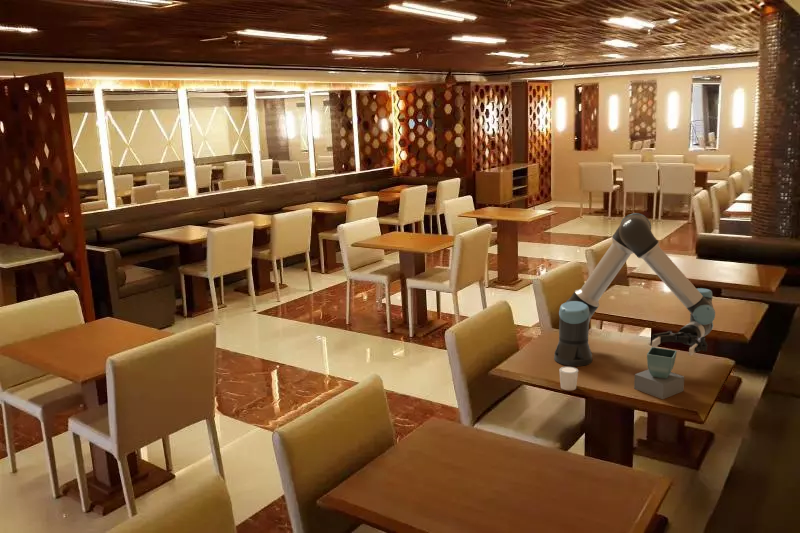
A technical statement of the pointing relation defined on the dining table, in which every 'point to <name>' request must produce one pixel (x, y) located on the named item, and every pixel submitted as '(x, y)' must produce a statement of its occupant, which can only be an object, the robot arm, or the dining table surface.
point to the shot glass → (568, 378)
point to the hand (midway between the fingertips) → (671, 348)
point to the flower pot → (660, 362)
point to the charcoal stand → (659, 384)
